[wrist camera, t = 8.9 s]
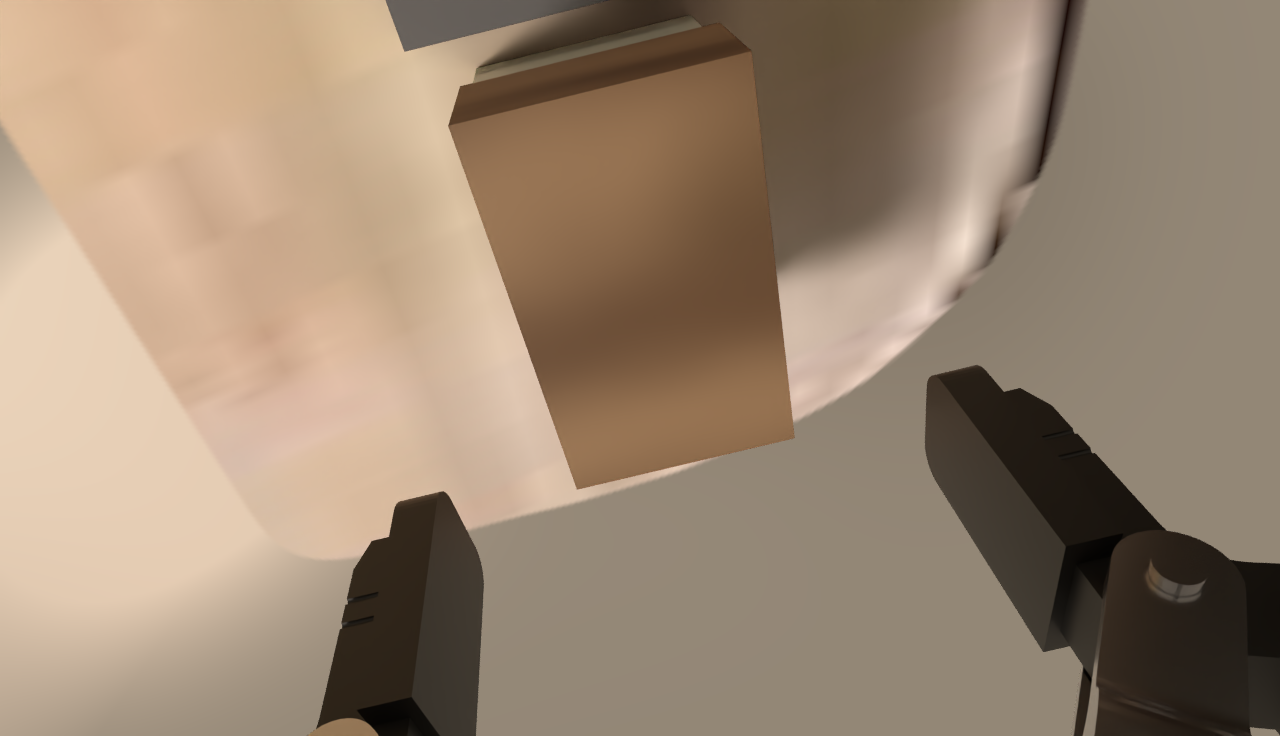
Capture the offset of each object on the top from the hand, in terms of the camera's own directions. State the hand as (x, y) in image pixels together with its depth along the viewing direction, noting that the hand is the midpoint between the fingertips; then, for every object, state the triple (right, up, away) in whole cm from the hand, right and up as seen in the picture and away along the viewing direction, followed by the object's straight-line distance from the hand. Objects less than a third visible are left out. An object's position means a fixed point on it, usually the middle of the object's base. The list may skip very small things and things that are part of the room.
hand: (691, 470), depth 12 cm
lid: (-1, +5, +7) cm, 9 cm away
